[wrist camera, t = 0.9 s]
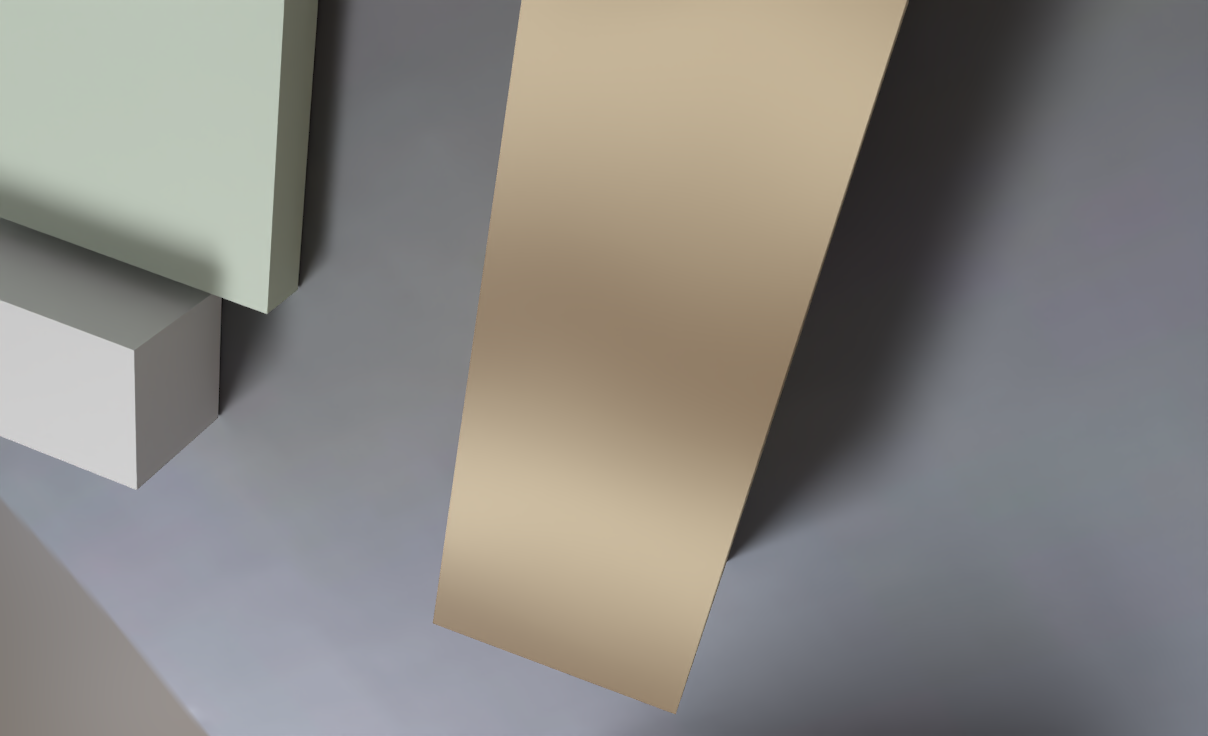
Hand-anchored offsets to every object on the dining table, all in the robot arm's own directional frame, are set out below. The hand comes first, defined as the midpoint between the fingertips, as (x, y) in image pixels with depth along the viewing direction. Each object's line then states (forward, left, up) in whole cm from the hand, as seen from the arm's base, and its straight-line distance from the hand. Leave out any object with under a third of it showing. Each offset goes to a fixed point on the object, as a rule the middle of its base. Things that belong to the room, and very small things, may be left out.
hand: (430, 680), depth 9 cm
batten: (0, 0, -10) cm, 10 cm away
